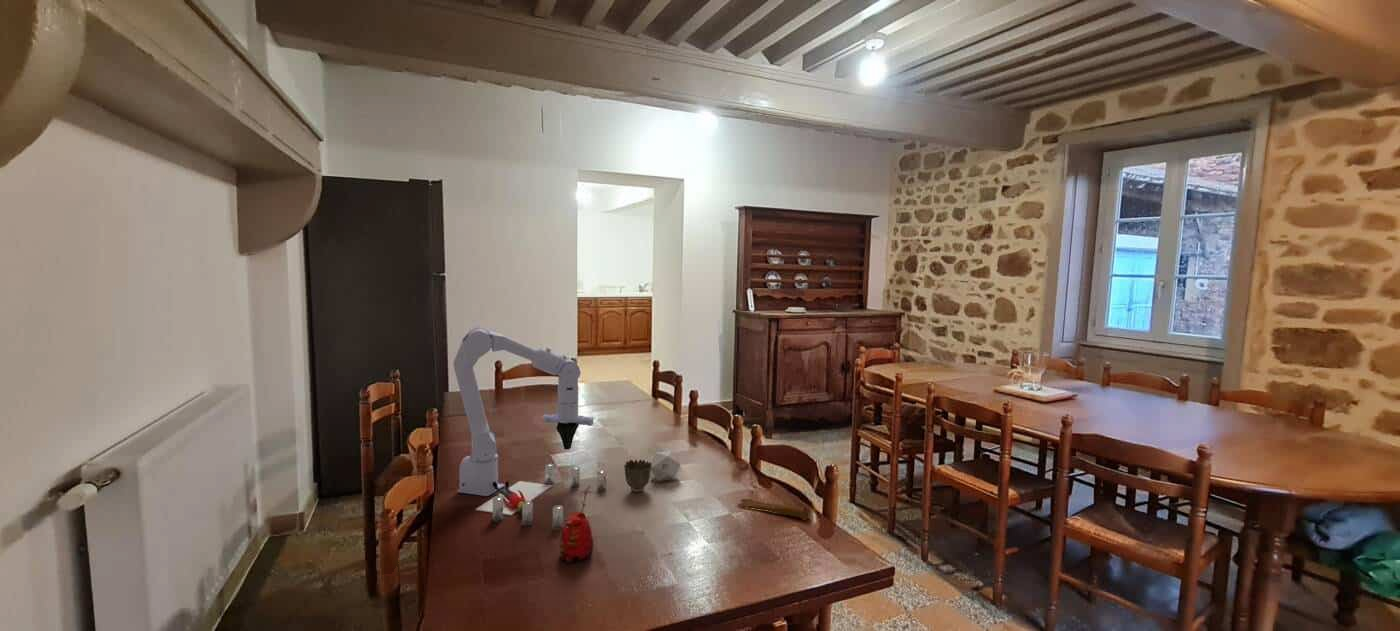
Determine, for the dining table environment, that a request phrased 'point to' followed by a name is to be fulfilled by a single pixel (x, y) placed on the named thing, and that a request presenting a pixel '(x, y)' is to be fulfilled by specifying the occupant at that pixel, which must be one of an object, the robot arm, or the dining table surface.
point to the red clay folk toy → (576, 537)
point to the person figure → (511, 497)
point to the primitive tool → (776, 508)
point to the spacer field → (557, 510)
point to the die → (665, 465)
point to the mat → (526, 488)
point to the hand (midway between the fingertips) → (567, 448)
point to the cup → (637, 474)
